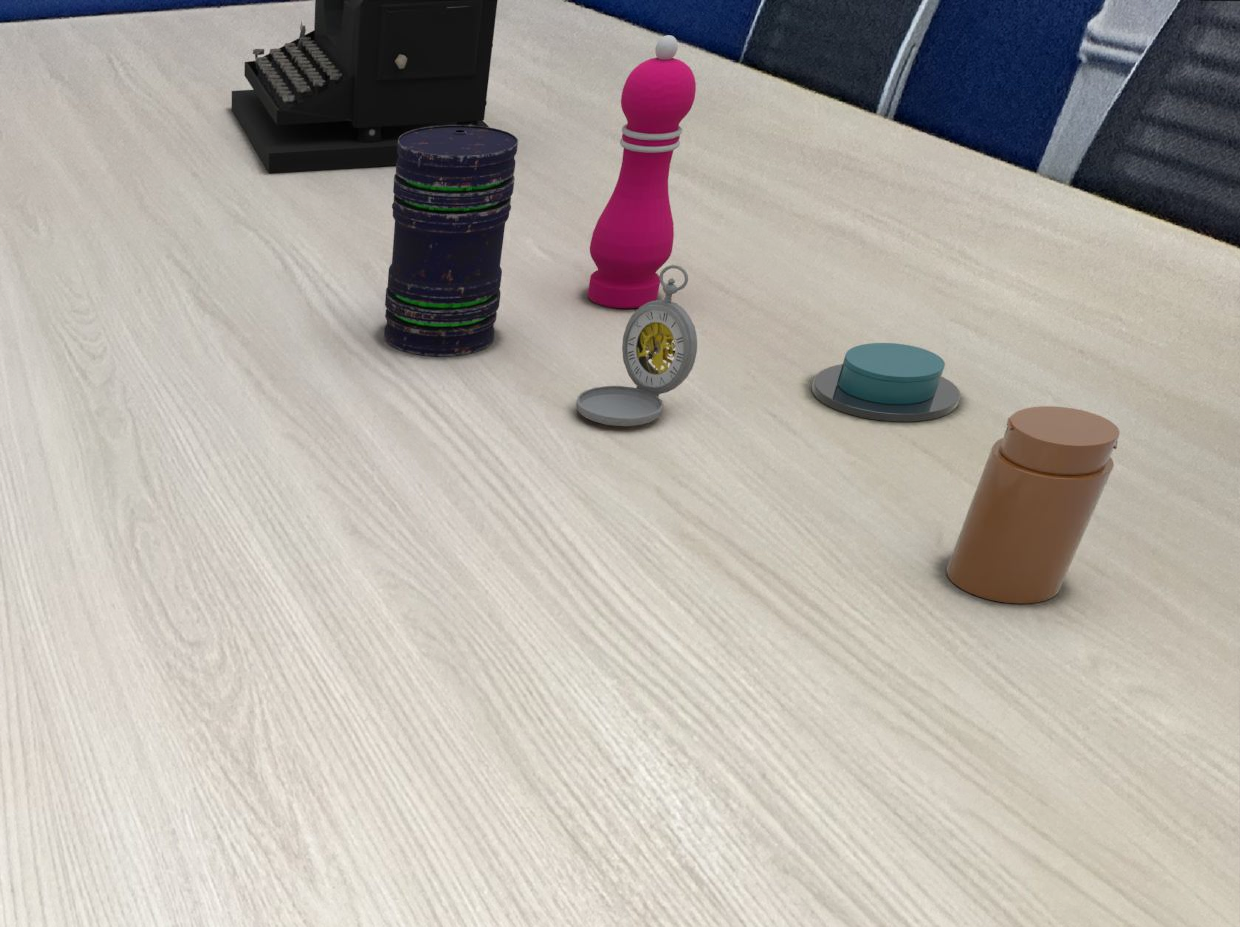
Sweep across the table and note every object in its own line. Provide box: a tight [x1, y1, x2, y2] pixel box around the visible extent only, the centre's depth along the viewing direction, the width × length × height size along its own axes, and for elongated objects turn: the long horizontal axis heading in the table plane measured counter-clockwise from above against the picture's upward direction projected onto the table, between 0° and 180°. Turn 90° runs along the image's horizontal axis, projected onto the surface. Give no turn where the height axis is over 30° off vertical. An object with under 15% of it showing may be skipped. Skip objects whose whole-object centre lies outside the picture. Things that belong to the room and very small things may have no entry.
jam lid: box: [837, 342, 946, 405], centre depth 114 cm, size 7×7×2 cm
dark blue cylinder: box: [383, 125, 519, 357], centre depth 121 cm, size 10×10×15 cm
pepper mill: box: [587, 34, 697, 310], centre depth 125 cm, size 7×7×20 cm
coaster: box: [811, 363, 961, 423], centre depth 115 cm, size 11×11×1 cm
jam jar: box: [946, 405, 1121, 605], centre depth 90 cm, size 7×7×10 cm
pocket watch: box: [575, 264, 698, 427], centre depth 110 cm, size 8×8×10 cm
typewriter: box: [231, 0, 498, 174], centre depth 167 cm, size 31×27×25 cm
